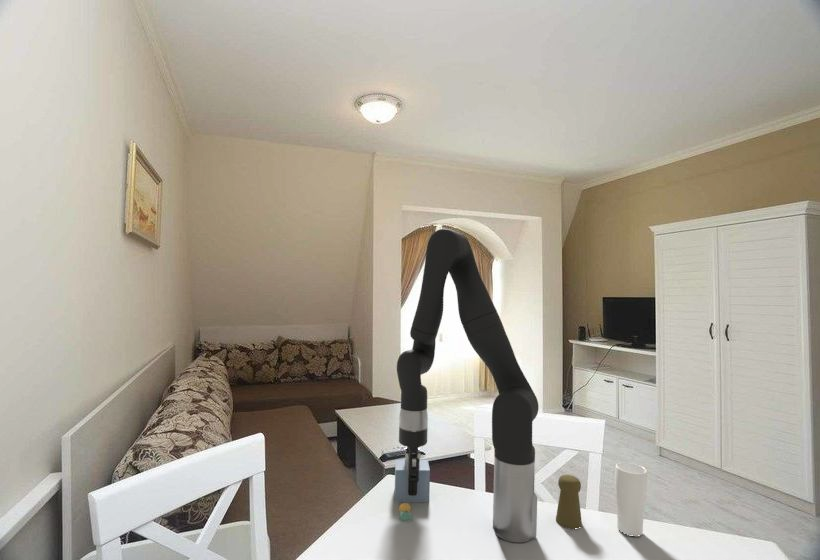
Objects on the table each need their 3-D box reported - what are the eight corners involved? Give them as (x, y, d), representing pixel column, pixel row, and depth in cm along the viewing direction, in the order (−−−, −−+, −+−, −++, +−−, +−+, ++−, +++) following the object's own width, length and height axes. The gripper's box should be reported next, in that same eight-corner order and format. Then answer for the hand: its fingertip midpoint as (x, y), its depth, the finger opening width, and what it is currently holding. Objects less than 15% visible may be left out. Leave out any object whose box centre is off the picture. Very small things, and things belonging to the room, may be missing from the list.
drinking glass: (650, 542, 97) (651, 475, 97) (618, 537, 99) (619, 472, 99) (640, 525, 104) (641, 463, 104) (610, 521, 105) (611, 460, 105)
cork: (581, 518, 107) (581, 473, 107) (583, 531, 101) (584, 484, 101) (555, 513, 108) (556, 470, 109) (555, 526, 103) (556, 480, 103)
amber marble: (410, 512, 107) (410, 500, 107) (411, 518, 104) (411, 506, 104) (398, 512, 107) (398, 500, 107) (398, 518, 104) (399, 506, 104)
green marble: (411, 520, 103) (411, 508, 104) (411, 527, 100) (412, 514, 101) (398, 520, 103) (399, 508, 103) (399, 527, 100) (399, 514, 100)
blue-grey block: (394, 501, 110) (395, 470, 110) (394, 489, 116) (395, 459, 116) (429, 501, 110) (429, 470, 110) (427, 489, 116) (427, 460, 116)
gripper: (398, 416, 120) (397, 476, 120) (399, 434, 106) (398, 502, 106) (425, 416, 121) (423, 476, 120) (430, 434, 106) (428, 502, 106)
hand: (411, 488), depth 113 cm, fingers closed on blue-grey block, 6 cm apart
